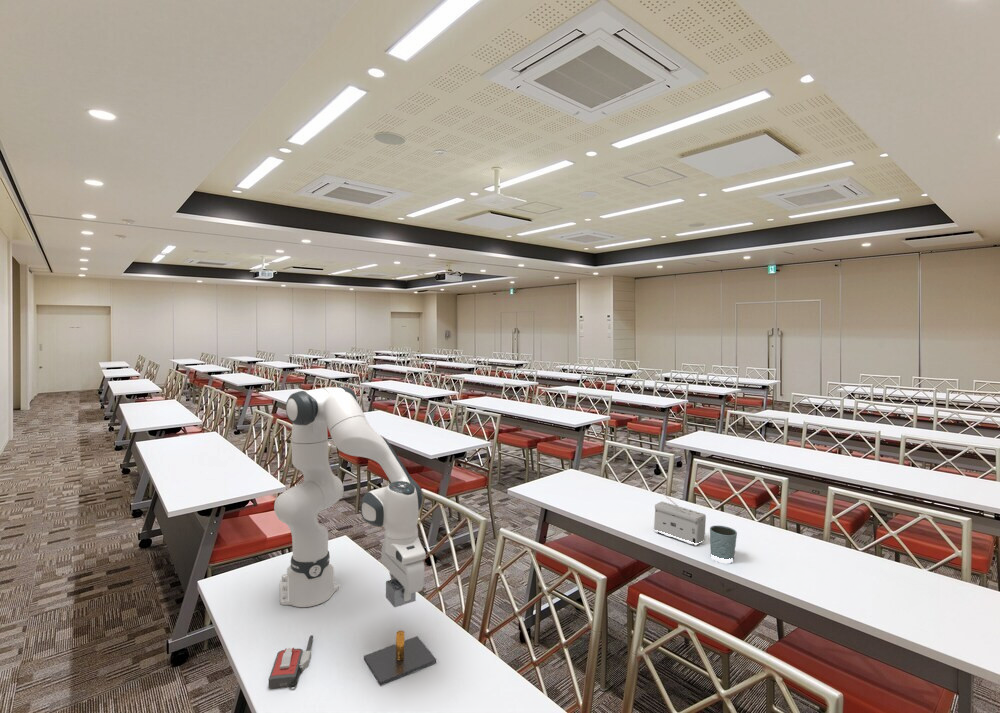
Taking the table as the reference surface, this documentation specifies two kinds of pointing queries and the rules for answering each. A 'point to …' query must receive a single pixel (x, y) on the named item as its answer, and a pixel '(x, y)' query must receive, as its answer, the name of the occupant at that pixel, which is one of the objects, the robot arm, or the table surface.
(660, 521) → the stereo radio cassette player
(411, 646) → the base
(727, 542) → the grey green cup
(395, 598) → the hollow square tube
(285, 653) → the walkie-talkie
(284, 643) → the table surface
